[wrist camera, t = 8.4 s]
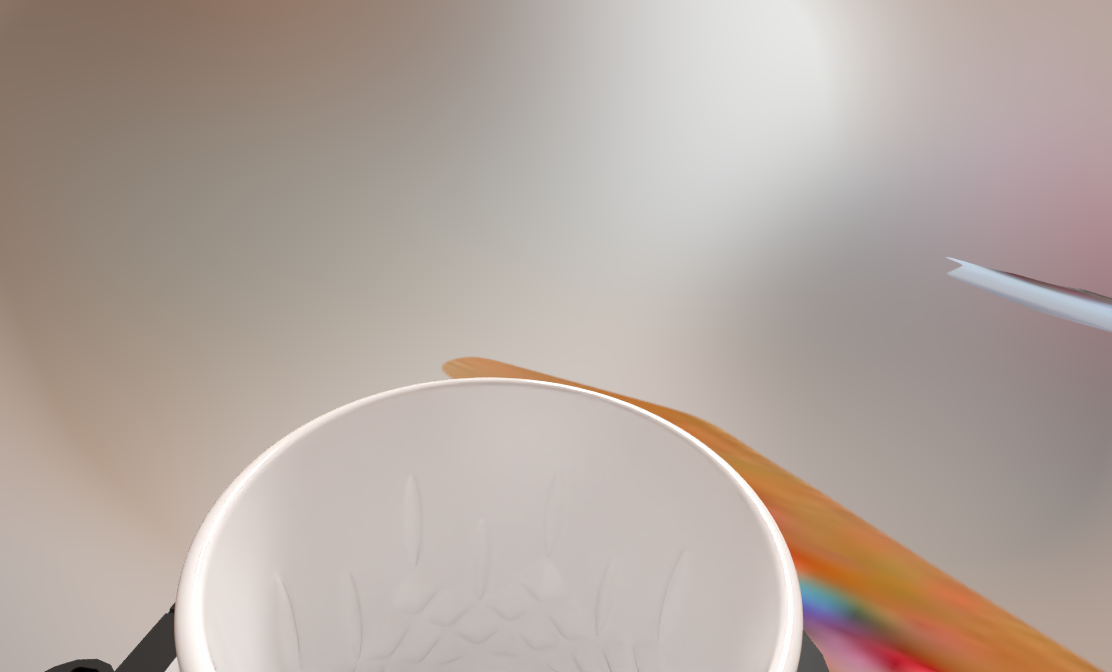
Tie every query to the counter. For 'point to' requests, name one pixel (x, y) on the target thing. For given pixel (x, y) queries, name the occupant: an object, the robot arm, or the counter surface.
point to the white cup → (488, 544)
